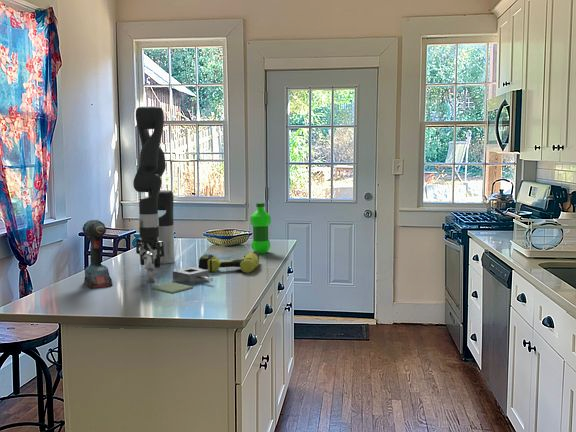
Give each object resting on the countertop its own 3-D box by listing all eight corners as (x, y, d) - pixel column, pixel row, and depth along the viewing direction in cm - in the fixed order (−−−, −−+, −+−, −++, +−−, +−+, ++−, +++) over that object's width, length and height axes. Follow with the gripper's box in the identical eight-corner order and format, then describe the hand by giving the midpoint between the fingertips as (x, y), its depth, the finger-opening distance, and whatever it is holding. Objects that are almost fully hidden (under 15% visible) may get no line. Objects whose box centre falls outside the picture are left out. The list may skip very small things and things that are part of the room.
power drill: (91, 292, 210) (88, 224, 207) (82, 279, 230) (79, 217, 227) (115, 289, 214) (113, 222, 211) (104, 277, 234) (102, 216, 231)
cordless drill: (209, 261, 265) (263, 262, 263) (196, 274, 241) (255, 275, 239) (209, 246, 264) (262, 247, 262) (196, 258, 240) (255, 259, 238)
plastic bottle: (275, 251, 289) (274, 202, 286) (263, 255, 280) (262, 204, 277) (258, 250, 295) (258, 201, 292) (246, 253, 286) (245, 203, 283)
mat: (151, 288, 215) (151, 286, 215) (172, 283, 222) (171, 282, 222) (172, 293, 207) (172, 291, 207) (193, 288, 215) (193, 286, 215)
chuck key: (140, 282, 224) (139, 254, 223) (154, 279, 230) (153, 252, 228) (147, 284, 222) (146, 256, 220) (161, 281, 227) (160, 253, 226)
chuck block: (172, 281, 227) (172, 271, 226) (191, 276, 234) (191, 266, 234) (202, 287, 216) (202, 276, 216) (221, 282, 224) (221, 272, 223)
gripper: (129, 224, 224) (131, 265, 226) (152, 227, 216) (154, 270, 217) (145, 223, 230) (146, 262, 232) (168, 225, 221) (169, 266, 223)
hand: (150, 266), depth 225 cm, fingers open, 8 cm apart
